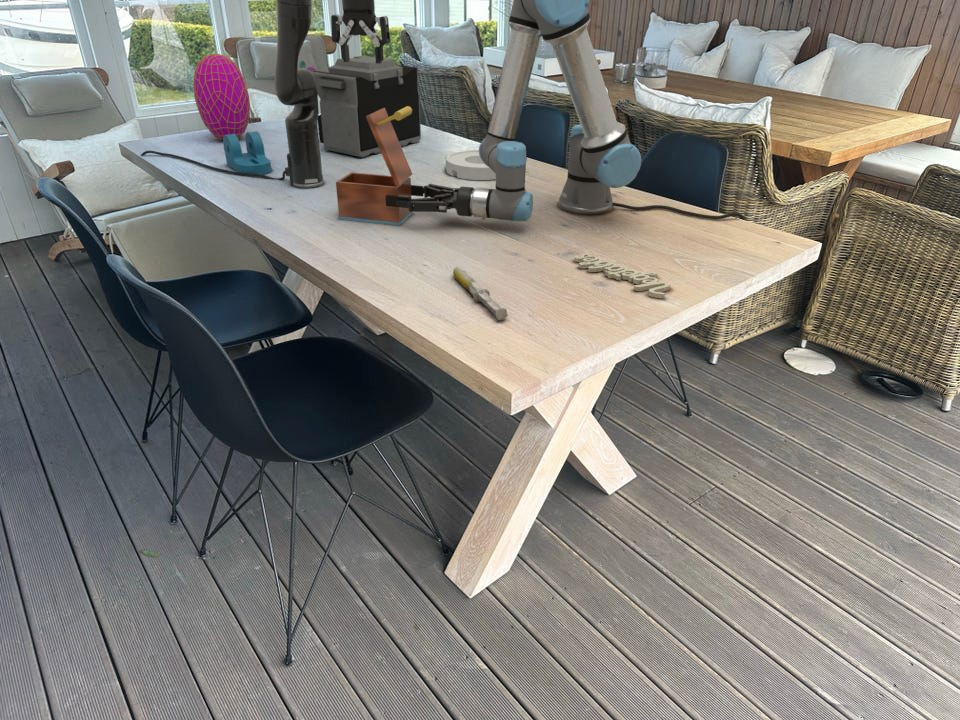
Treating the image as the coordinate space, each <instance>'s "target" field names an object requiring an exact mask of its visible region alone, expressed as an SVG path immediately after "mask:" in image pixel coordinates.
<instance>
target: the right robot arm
mask: <svg viewBox="0 0 960 720" xmlns="http://www.w3.org/2000/svg"><path fill="white" fill-rule="evenodd" d="M589 4H590V0H513V1H512V6H511V10H510V13H509V17H508V18H509V19H508V25H509V28H510V32H509V37H508V42H507V46H506V49H505V55H504V59H503V63H502V67H501V72H500V76H499V80H498V84H497V85H498V86H497V90H496V93H495V98H494V101H493V102H494V103H493V107H492V110H491V114H490V115H491V116H490V119H489V124H488V127H487V128H488V129H487V132H486V136H485V137H484V138H483V139H482V141H481V142H480V144H479V146H478V150H479V155H480V158H481V159H482V161H483V162H484V164H485V165H487V166H488V167H490V168H491V169H492V170H493V171H494V172H495V173H496V179H495V189H494V188H487V187H475V188H474V187H471V186H463V185H462V186H460V187H450V186H444V185H439V184H433V183H428V185H416V184H411V197H410V196H408V197H401V196H390V195H386V196H385V197H386V206H391V207H401V208H409V212H412V213H420V212H421V213H443V214H445V213H448V210H452V209H454V210H455V211H456V214H457V215H458V216H460V217H468V218H469V217H472V216H473V217H474V218H481V220H486V219H493V220H501V221H511V222H528V221H529V220H530V219H531V217H532V214H533V209H534V195H533V193H532V192H530V191H526V171H527V160H528V157H527V146H526V145H525V144H524V143H523V142H520V141H515V140H516V135H517V132H518V127H519V124H520V120H521V115H522V113H523V112H522V111H523V108H524V104H525V100H526V96H527V92H528V89H529V84H530V80H531V77H532V73H533V69H534V65H535V61H536V57H537V53H538V49H539V45H540V42H541V38H542V40H543V41H544V42H545V43H548V44H550V45H551V46H552V48H553V52H554V54H555V57H556V60H557V62H558V65H559V68H560V71H561V73H562V76H563V79H564V82H565V85H566V88H567V91H568V93H569V96H570V99H571V102H572V104H573V108H574V110H575V113H576V116H577V119H578V121H579V124H575V125H573V126H572V127H571V130H570V136H569V147H568V149H569V150H568V164H567V177H566V181H565V184H564V186H563V189H562V191H561V194H560V196H559V200H558V206H559V207H558V208H560V209H561V210H563V211H565V212H568V213H571V214H576V215H577V214H578V215H585V216H586V215H587V216H590V215H593V216H595V215H602V214H606V213H609V212H610V211H611V210H612V209H613V207H616V208H617V207H618V208H621V209H622V208H623V209H628V210H632V211H646V210H652V209H653V210H655V209H657V210H658V209H660V210H667V211H672V212H675V213H678V214H681V215H687V216H690V217H696V218H700V219H708V220H709V219H710V220H723V219H727V218H731V217H738V218H739V219H741V220H746V217H745V216H744V214H742V213H740V212H735V211H734V212H733V211H732V212H729V213H725V214H722V215H710V214H704V213H699V212H698V213H697V212H692V211H689V210H688V211H687V210H683V209H680V208H676V207H672V206H668V205H663V204H662V205H661V204H653V205H643V206H633V205H628V204H624V203H618V202H614V201H613V196H612V191H611V189H619V188H624V187H626V186H628V185H629V184H631V183H632V181H634V180H635V179H636V177H637V175H638V173H639V171H640V170H641V166H642V155H641V153H640V150H639V149H638V148H637V147H636V145H635V144H632V143H631V141H630V138H629V134H628V131H627V128H626V126H625V124H624V123H621V122H619V121H617V117H616V115H615V112H614V109H613V105H612V102H611V100H610V95H609V93H608V89H607V87H606V83H605V81H604V78H603V75H602V71H601V68H600V65H599V62H598V59H597V56H596V53H595V49H594V47H593V44H592V40H591V37H590V35H589V31H588V26H589V24H590V22H591V15H590V12H589V9H588V7H589ZM412 197H417V198H412ZM418 197H419V198H418ZM411 198H412V199H411Z"/></svg>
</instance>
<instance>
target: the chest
mask: <svg viewBox="0 0 960 720" xmlns="http://www.w3.org/2000/svg"><path fill="white" fill-rule="evenodd" d="M411 185H412V179H411V177H409V178H407V179H406V180H405V181H403V182H402V183H401V184H399V185H397V186H395V183H394V181H393V179H392V176H391V175H384V174H373V173H361V172H352V171H351V172H350V173H348V174H347V175H345V176H343V177H341V178H340V179H338V180H336V181H335V189H336V190H335V191H336V198H337V199H336V200H337V210H338V219H339V220H343V221H344V220H346V221H354V222H364V223H373V224H382V225H391V226H401V225H402V224H403V223H404V222H405V221H407V219H408V218H410V217H411V216H412V215H413V212H409V208H401V207H391V206H386V197H385V196H386V195H390V196H401V197H408V196H410V197H411V199H413V198H412V196H411Z"/></svg>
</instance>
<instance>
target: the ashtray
mask: <svg viewBox="0 0 960 720" xmlns="http://www.w3.org/2000/svg"><path fill="white" fill-rule="evenodd" d="M445 172H446V174H448V175H449V176H453V177H455V176H456V177H457V179H461V180H462V179H463V180H470V181H492V180H494V181H495V180H496V173H495V172H494V171H493V170H492V169H491V168H490V167H488V166H487V165H485V164H484V162H483V161H482V159H481V158H480V155H479V149H470V150H469V149H468V150H461V151H456V152H452V153H450V154H448V155H447V156H445Z"/></svg>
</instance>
